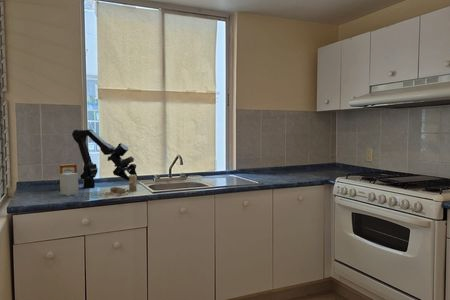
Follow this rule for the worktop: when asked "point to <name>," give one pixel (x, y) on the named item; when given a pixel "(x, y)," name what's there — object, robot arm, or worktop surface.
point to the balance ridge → (117, 191)
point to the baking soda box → (68, 168)
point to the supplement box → (69, 183)
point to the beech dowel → (132, 183)
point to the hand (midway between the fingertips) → (133, 178)
